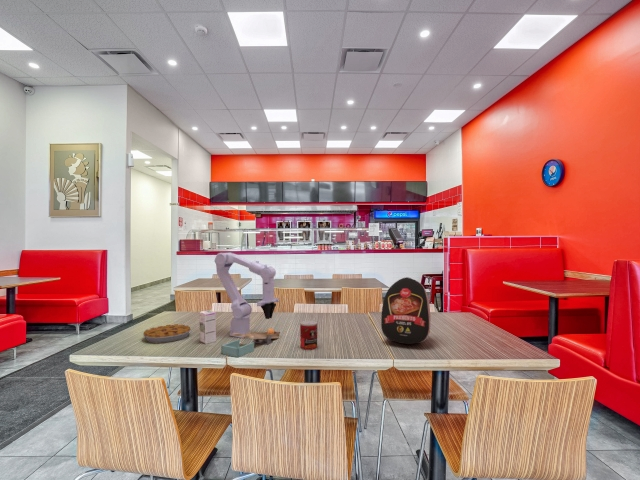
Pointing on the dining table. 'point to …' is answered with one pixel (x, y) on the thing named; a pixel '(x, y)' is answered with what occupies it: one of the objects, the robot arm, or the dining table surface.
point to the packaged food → (406, 312)
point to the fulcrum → (264, 340)
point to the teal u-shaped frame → (236, 348)
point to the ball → (270, 331)
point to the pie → (167, 333)
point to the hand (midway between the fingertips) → (268, 318)
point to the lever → (258, 335)
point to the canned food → (308, 334)
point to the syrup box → (207, 326)
